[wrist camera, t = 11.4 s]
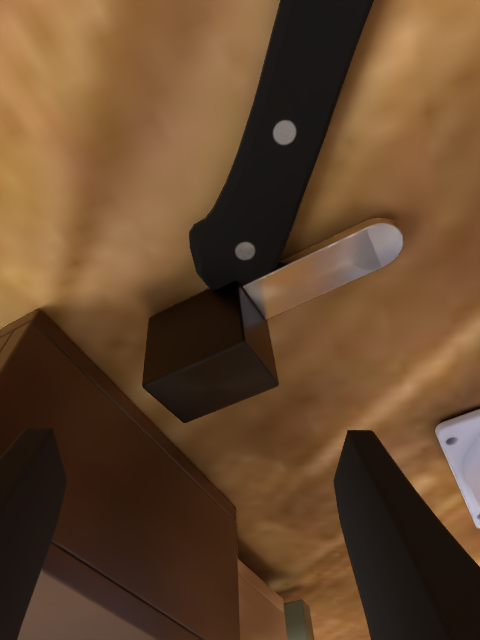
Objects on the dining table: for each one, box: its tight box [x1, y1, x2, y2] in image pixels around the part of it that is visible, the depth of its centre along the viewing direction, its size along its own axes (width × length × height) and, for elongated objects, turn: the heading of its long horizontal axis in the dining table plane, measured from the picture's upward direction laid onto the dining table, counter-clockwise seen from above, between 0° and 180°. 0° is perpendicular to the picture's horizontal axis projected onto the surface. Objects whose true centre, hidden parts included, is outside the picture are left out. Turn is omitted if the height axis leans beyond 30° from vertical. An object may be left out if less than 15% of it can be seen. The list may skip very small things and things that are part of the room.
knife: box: [142, 218, 404, 423], centre depth 14 cm, size 9×2×3 cm, turn 119°
